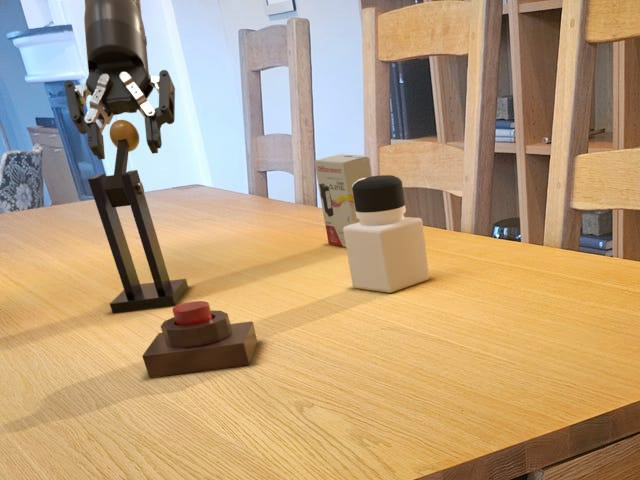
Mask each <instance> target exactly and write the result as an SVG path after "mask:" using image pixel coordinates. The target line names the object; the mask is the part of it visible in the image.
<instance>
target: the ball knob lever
mask: <svg viewBox="0 0 640 480" xmlns="http://www.w3.org/2000/svg"><path fill="white" fill-rule="evenodd" d="M109 138H110V140H111V142H112V144H113V145H114V147H115V148H116V154H115V162H114V171H113V174H111V175H106V180H105V188H104V190H105V192H106V194H107V197H108V199H109V201H110V203H111V205H112V207H113V208H114V207H116V208H120V207H121V208H123V207H131V206H130V203H129V200H128V196H127V193H126V190H125V187H124V183H123V180H122V177H121V175H123V174H125V173H126V172H127V169H128V159H129V153H131V152H133V151H135V150H136V149H137V148H138V146H139V144H140V134H139V132H138V129H137V128H136V126H135V125H134V124H133V123H132V122H130V121H129V120H127V119H126V120H125V119H117V120H115V121H114V122H112V124H111V125H110V128H109Z"/></svg>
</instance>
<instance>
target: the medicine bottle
mask: <svg viewBox="0 0 640 480" xmlns="http://www.w3.org/2000/svg"><path fill="white" fill-rule="evenodd" d="M352 193H353V199H354V205H355V211H356V217H357V218H358V219H359V220H360V222H358V223H355V224H351V225H348V226H345V227H344V228H343V232H344V238H345V244H346V247H345V250H346V255H347V260H348V266H349V273H350V278H351V283H352V287H353V288H354V289H360V290H366V291H367V290H368V291H374V292H381V293H387V294H391V293H394V292H397V291H399V290H403V289H406V288H409V287H412V286H414V285H417V284H420V283H423V282H425V281H428V280H429V279H430V273H429V272H430V271H429V264H428V256H427V255H428V254H427V247H426V240H425V231H424V223H423V219H422V217H421V218H420V217H411V216H405V215H404V214H405V213H406V211H407V210H406V202H405V194H404V187H403V181H402V180H401V178H399V177H397V176H395V175H391V174H385V175H384V174H382V175H372V176H371V177H366V178H362V179H359V180H358V181H356V182H355V183H354V184H353V186H352Z"/></svg>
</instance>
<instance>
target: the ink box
mask: <svg viewBox="0 0 640 480" xmlns="http://www.w3.org/2000/svg"><path fill="white" fill-rule="evenodd" d="M313 163H314V168H315V174H316V178H317V179H316V180H317V185H318V190H319V196H320V203H321V209H322V214H323V220H324V221H323V222H324V226H325V231H326V236H327V237H326V238H327V243H328V245H333V246H336V247H337V246H338V247H343V248H346V244H345V238H344V232H343V228H344V227H345V226H348V225H351V224H355V223H358V222H360V220H359V219H358V218H357V217H356V211H355V205H354V199H353V193H352V186H353V184H354V183H355V182H356V181H358V180H359V179H362V178H366V177H371V176H373V173H372V166H371V165H372V164H371V158H370V157H369V156H368V155H363V154H362V155H360V154H346V153H345V154H343V153H341V154H335V155H331V156H328V157H324V158H323V157H322V158H320V159H315V160H314V161H313Z"/></svg>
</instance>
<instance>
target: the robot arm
mask: <svg viewBox="0 0 640 480" xmlns="http://www.w3.org/2000/svg"><path fill="white" fill-rule="evenodd" d="M83 18H84V19H83V20H84V21H83V22H84V32H85V33H84V35H85V48H86V60H87V69H88V77H87V78H86V81H85V83H80V84H77V85H76V84H74V82H73V81H72V80H66V81H65V82H64V83H63V87H64V92H65V97H66V98H65V99H66V102H67V103H66V104H67V107H68V113H69V118H70V120H71V121H72V122H73V125H74V126H75V128H76V129H77V132H78V133H79V134H81V135H85V134H86V137H87V138H86V139H87V146H88V148H89V149H90V151H91V152H92V154H93V156H94V157H96V158H97V159H98V160H99V161H102V160H105V159H106V155H105V153H106V152H105V143H104V135H103V134H102V133H103V132H104V130H105V128H106V126H107V125H110V123H111V122H112V120H113V117H114V116H117V115H122V114H125V113H126V114H127V113H128V114H135V113H138V111H139V113H140V114H141V115H142V117H143V118H144V128H145V140H146V145H147V147H148V149H149V151H150V152H151V154H158V153H159V149H162V145H163V143H162V132H161V128H162V126H163V125H164V124H168V125H172V124H174V122H175V121H176V120H175V119H176V117H175V116H176V115H175V114H176V112H175V111H176V105H175V104H176V87H175V85H174V82H173V80H172V77H171V75H170V73H169V71H168V70H167V69H161V71H159V75H151V74H150V71H149V69H150V68H149V60H148V50H147V47H148V40H147V36H146V30H145V25H144V20H143V17H142V7H141V0H84V17H83ZM154 89H156V92H157V93H158V107H155V108H154V107H153V106H152V105H151V103H150V102H149V101H148V98H149V97H150V95H151V94H152V93H153V90H154ZM89 96H91V97H90V100H89V101H88V104H89V108H88V110H87V112H86V113H85V108H84V107H85V106H87V98H88V97H89Z"/></svg>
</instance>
